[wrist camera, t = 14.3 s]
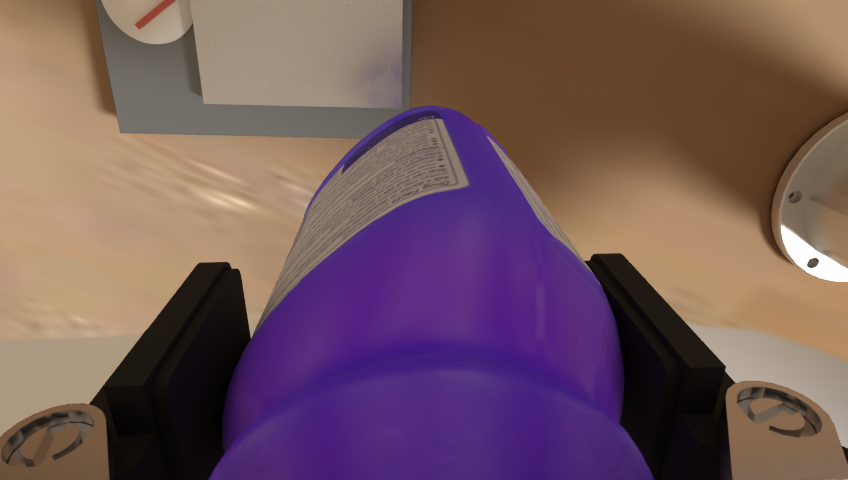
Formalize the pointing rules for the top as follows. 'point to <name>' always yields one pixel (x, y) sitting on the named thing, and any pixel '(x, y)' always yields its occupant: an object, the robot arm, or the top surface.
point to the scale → (181, 86)
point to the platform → (300, 52)
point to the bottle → (430, 329)
